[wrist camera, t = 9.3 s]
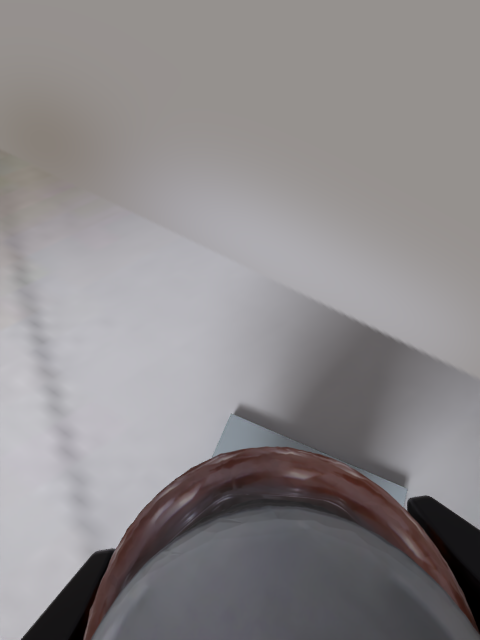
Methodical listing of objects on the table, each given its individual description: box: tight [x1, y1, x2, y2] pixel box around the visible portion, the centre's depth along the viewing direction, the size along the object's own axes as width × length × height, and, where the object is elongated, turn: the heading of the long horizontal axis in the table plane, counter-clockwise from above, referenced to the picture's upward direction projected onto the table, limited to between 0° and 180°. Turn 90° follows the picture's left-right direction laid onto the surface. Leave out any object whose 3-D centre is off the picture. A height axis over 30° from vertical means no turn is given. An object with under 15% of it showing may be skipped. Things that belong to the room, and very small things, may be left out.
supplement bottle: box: [83, 446, 480, 640], centre depth 8 cm, size 6×6×11 cm
